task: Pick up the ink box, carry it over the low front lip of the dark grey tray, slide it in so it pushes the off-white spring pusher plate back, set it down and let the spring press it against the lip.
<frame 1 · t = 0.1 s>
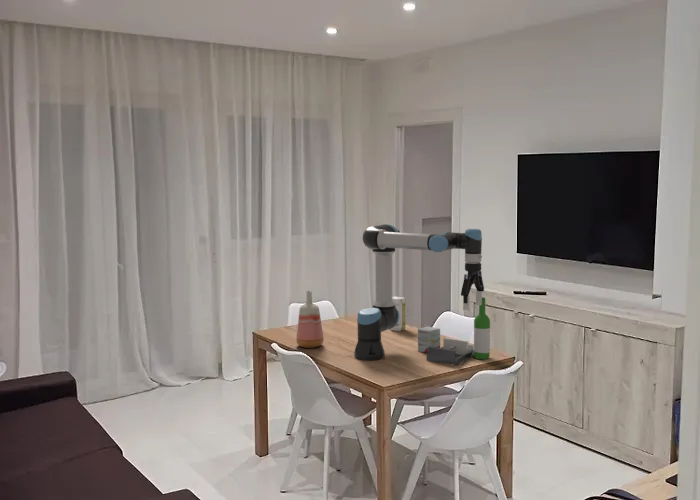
hand: (472, 307, 310), 28 cm above the table, fingers open, 13 cm apart
vase: (310, 346, 351), on the table
dark grey tray: (451, 357, 327), on the table
juice carton: (397, 330, 385), on the table
pusher: (453, 347, 328), point 5 cm above the table, slide at 0.0 cm
ink box: (429, 351, 339), on the table
wine bottle: (481, 358, 326), on the table
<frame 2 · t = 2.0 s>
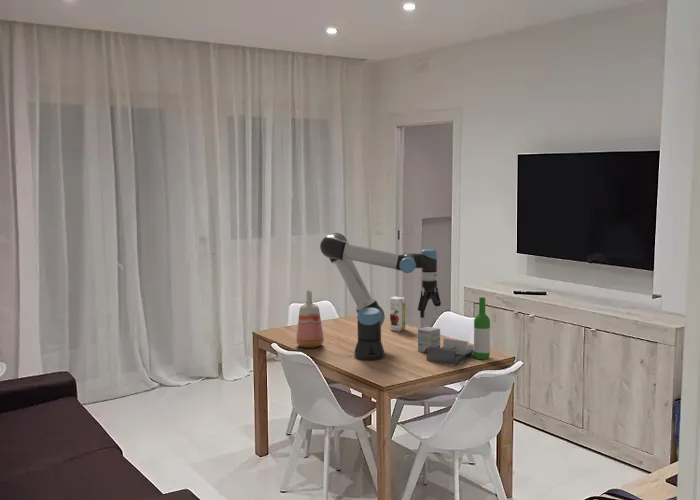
hand: (429, 321, 338), 16 cm above the table, fingers open, 13 cm apart
nothing on the table moved.
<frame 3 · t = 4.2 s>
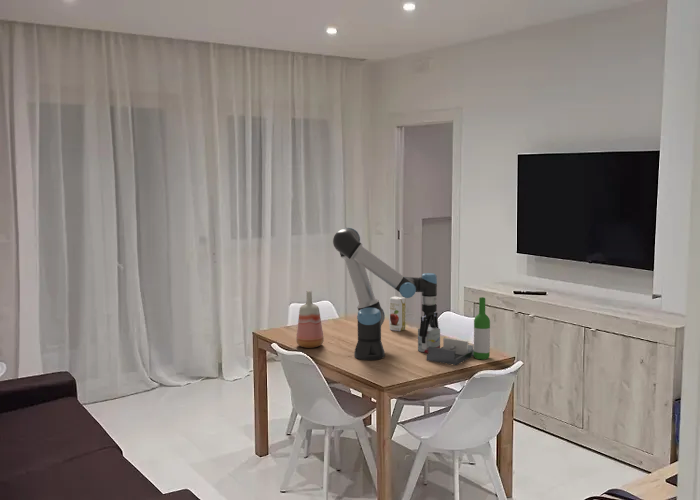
hand: (429, 347, 339), 2 cm above the table, fingers closed on ink box, 9 cm apart
ink box: (429, 351, 339), on the table, touching gripper
everything else where it was.
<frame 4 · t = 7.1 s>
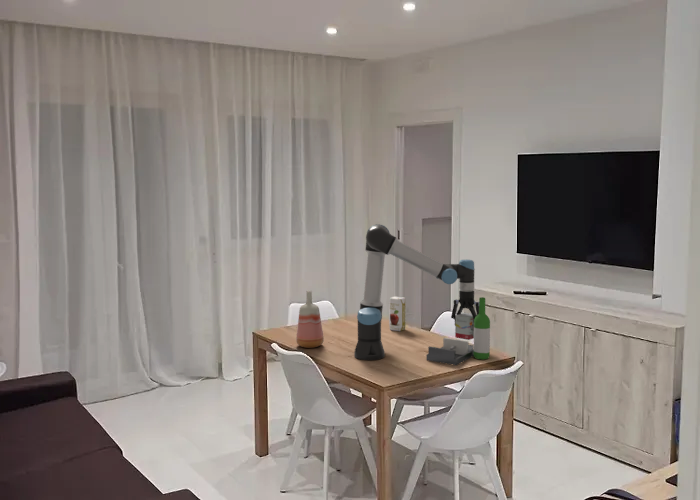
hand: (466, 333, 340), 9 cm above the table, fingers closed on ink box, 9 cm apart
ink box: (466, 337, 340), point 6 cm above the table, touching gripper
everything else where it was.
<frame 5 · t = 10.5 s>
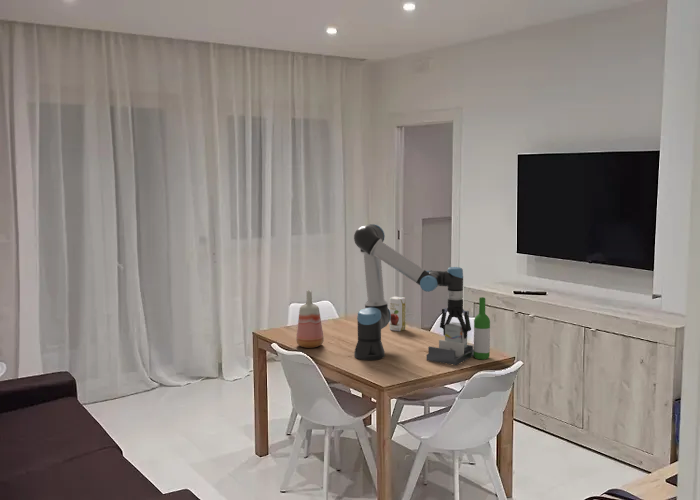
hand: (455, 343, 329), 6 cm above the table, fingers closed on ink box, 9 cm apart
pusher: (449, 349, 325), point 5 cm above the table, slide at 4.7 cm
ink box: (456, 347, 330), point 4 cm above the table, touching gripper
everything else where it was.
when the fingers open (5 cm above the table, at t = 11.6 s): ink box stays where it is, resting on dark grey tray, pusher.
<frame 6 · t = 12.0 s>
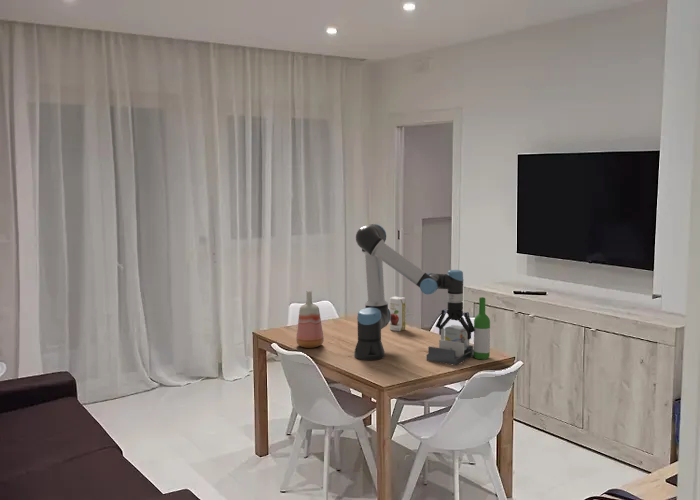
hand: (454, 343, 329), 6 cm above the table, fingers open, 13 cm apart
pusher: (449, 349, 325), point 5 cm above the table, slide at 4.5 cm, touching ink box
ink box: (456, 350, 331), point 2 cm above the table, touching dark grey tray, pusher
everything else where it was.
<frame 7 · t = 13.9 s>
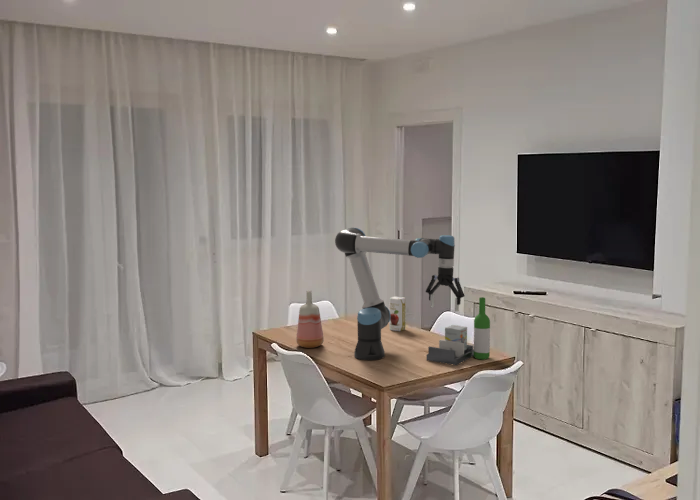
hand: (444, 309, 329), 23 cm above the table, fingers open, 13 cm apart
nothing on the table moved.
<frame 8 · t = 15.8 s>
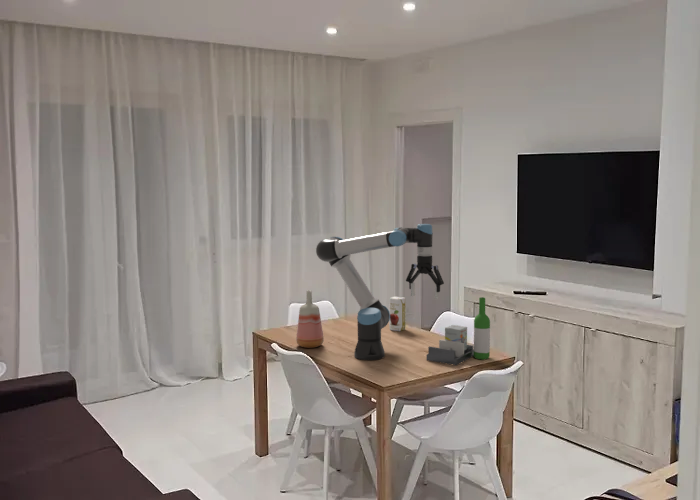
hand: (424, 297, 332), 29 cm above the table, fingers open, 13 cm apart
nothing on the table moved.
at the end: ink box inside the target area (0.1 cm from its centre), point 2.4 cm above the table; pusher slide at 4.5 cm; ink box tilted 1° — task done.
